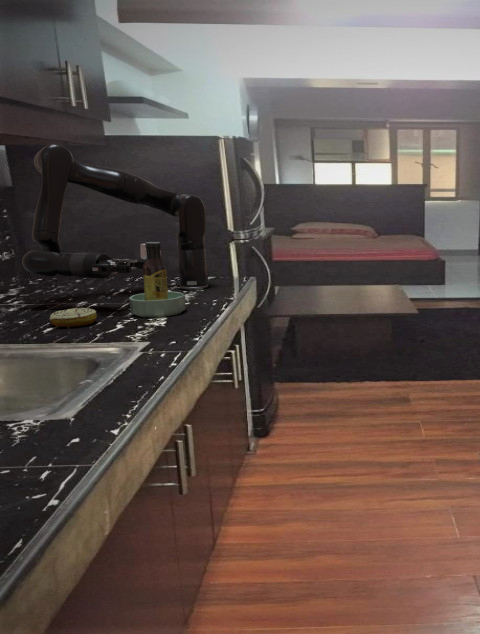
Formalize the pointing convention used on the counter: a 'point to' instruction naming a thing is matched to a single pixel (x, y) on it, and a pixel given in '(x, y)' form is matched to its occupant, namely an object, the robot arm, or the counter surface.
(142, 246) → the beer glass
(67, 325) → the decorated donut
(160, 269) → the sauce bottle
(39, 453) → the counter surface
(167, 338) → the counter surface
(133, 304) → the bowl
